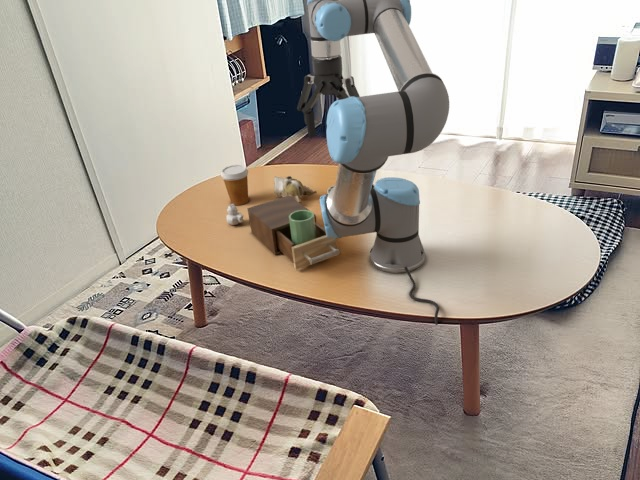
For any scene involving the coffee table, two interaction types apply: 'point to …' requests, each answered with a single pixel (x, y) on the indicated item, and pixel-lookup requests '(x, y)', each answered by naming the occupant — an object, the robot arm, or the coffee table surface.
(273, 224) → the cabinet
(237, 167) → the disposable coffee cup
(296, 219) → the pot
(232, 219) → the white animal figurine
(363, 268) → the coffee table surface
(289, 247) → the drawer
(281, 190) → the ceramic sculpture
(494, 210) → the coffee table surface
